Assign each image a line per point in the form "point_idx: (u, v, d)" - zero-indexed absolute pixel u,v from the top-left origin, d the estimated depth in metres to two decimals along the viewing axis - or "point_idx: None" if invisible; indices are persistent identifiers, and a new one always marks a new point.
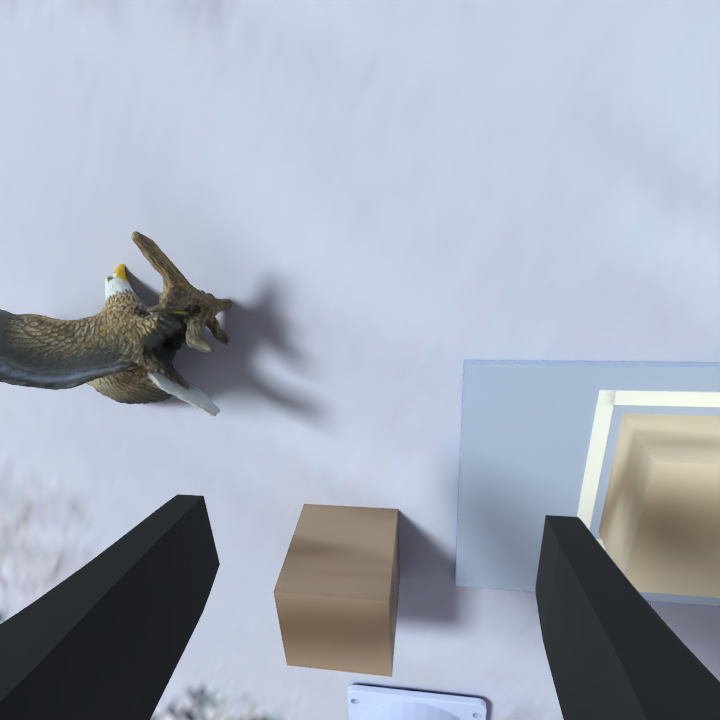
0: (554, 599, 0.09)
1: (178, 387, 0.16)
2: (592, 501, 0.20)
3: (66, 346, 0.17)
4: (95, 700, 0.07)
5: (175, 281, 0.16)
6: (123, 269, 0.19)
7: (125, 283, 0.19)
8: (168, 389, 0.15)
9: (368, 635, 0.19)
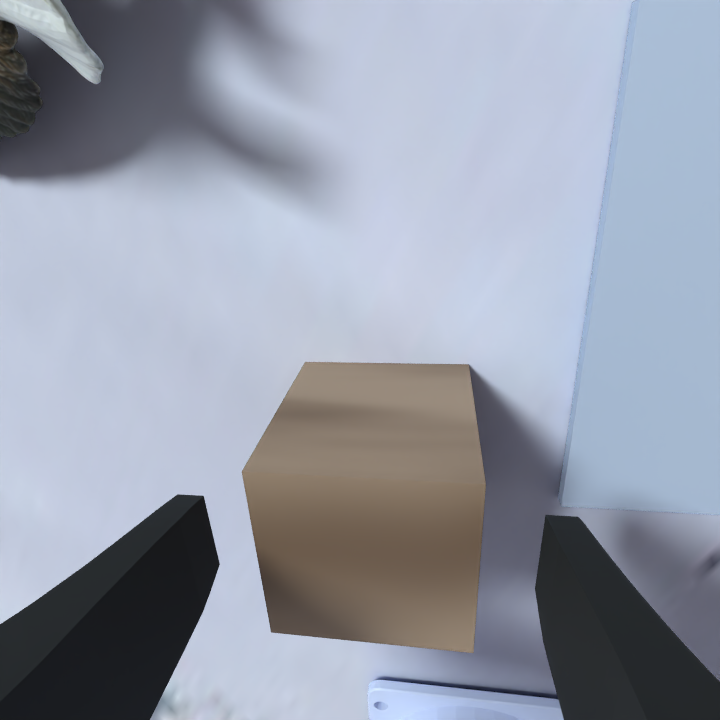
0: (554, 599, 0.09)
1: None
2: None
3: None
4: (95, 700, 0.07)
5: None
6: None
7: None
8: None
9: (432, 566, 0.10)
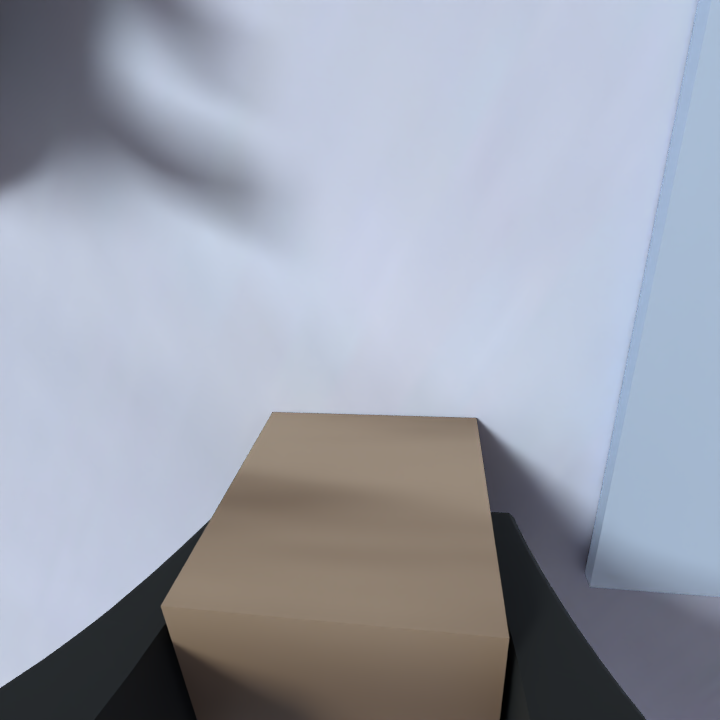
0: None
1: None
2: None
3: None
4: (173, 710, 0.07)
5: None
6: None
7: None
8: None
9: None
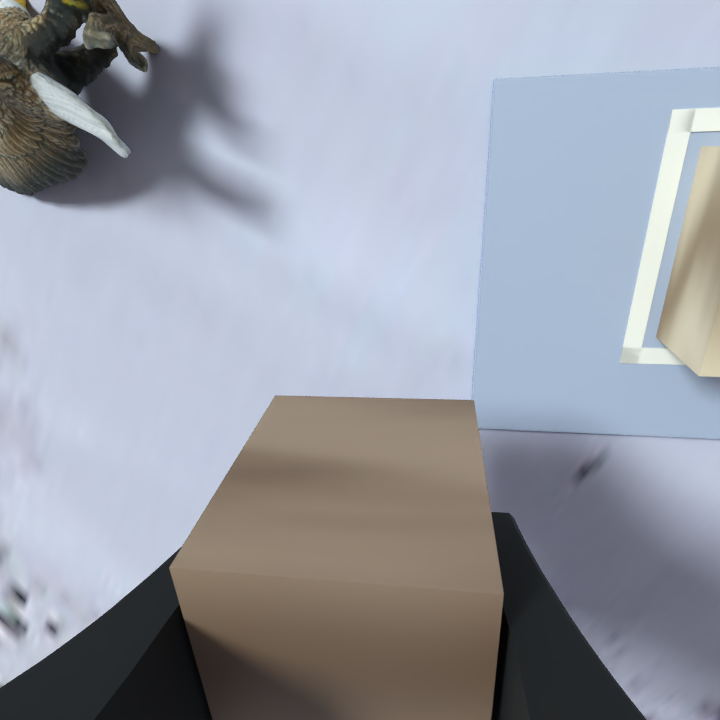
0: None
1: (66, 88, 0.12)
2: (651, 289, 0.16)
3: None
4: (173, 710, 0.07)
5: None
6: None
7: (21, 7, 0.15)
8: (48, 78, 0.12)
9: (430, 691, 0.07)
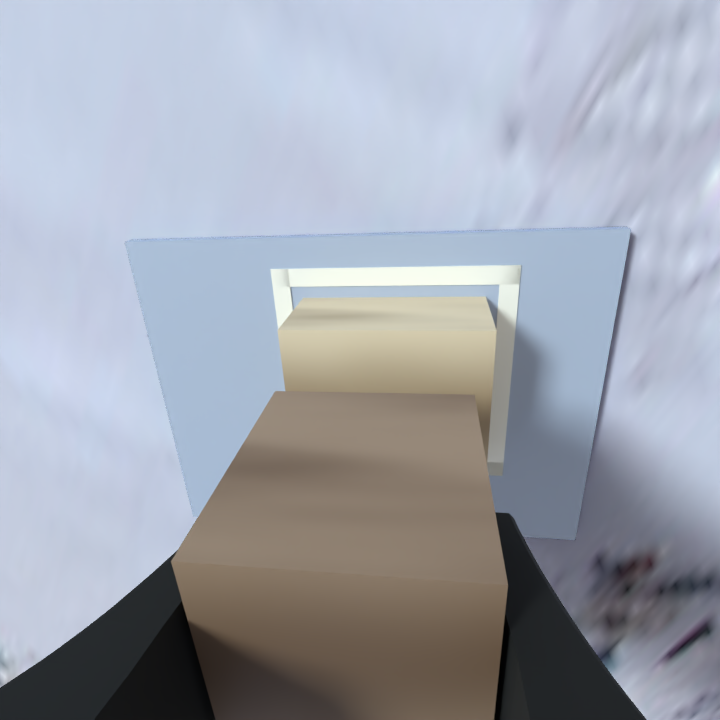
0: None
1: None
2: None
3: None
4: (173, 710, 0.07)
5: None
6: None
7: None
8: None
9: (433, 684, 0.07)
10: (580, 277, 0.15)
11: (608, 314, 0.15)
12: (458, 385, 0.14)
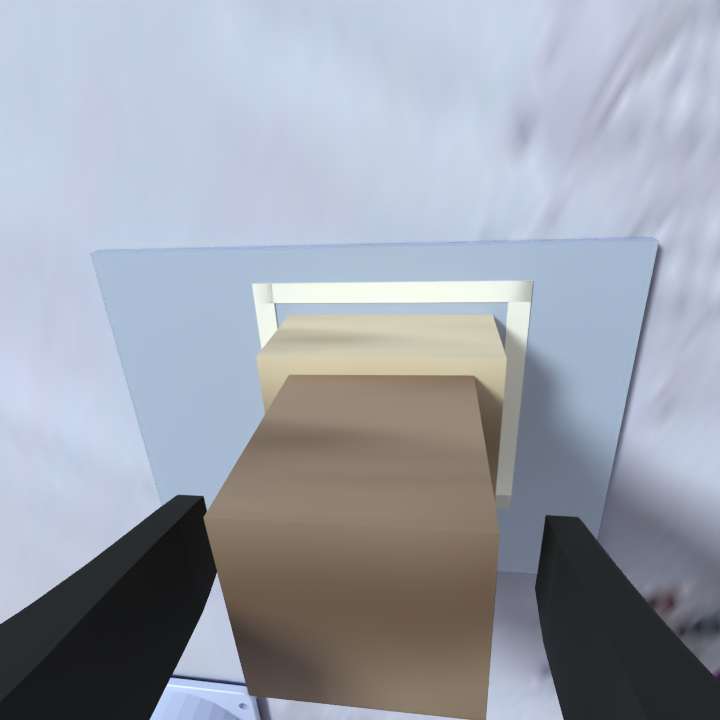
0: (554, 599, 0.09)
1: None
2: None
3: None
4: (95, 700, 0.07)
5: None
6: None
7: None
8: None
9: (436, 626, 0.08)
10: (600, 294, 0.13)
11: (631, 335, 0.14)
12: None
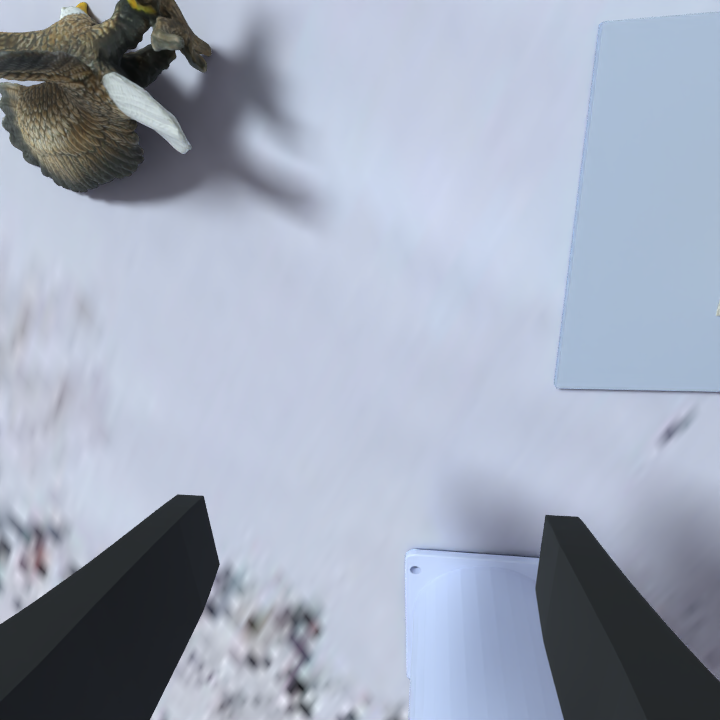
0: (554, 599, 0.09)
1: None
2: None
3: None
4: (95, 700, 0.07)
5: None
6: (84, 7, 0.16)
7: (85, 13, 0.15)
8: (124, 77, 0.12)
9: None
10: None
11: None
12: None
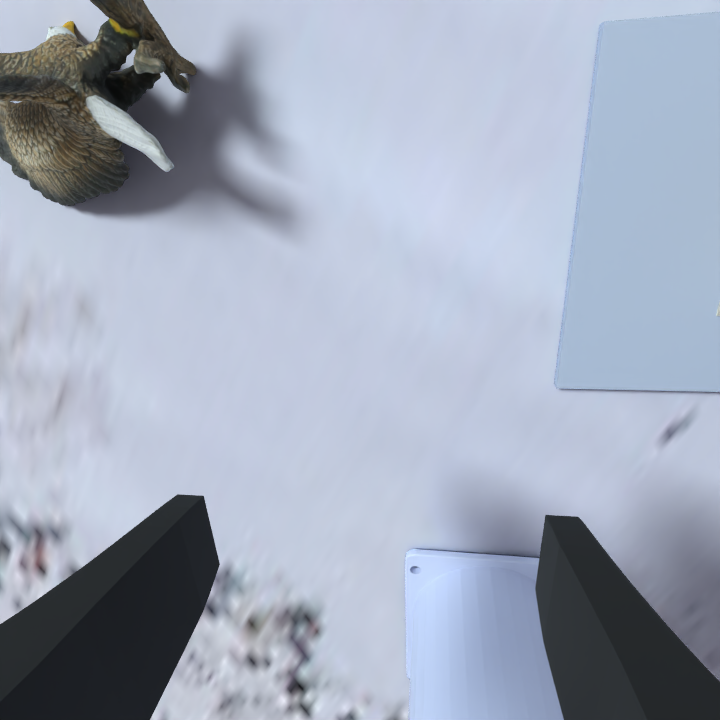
0: (554, 599, 0.09)
1: None
2: None
3: None
4: (95, 700, 0.07)
5: None
6: (71, 26, 0.16)
7: (71, 33, 0.16)
8: (106, 101, 0.13)
9: None
10: None
11: None
12: None
